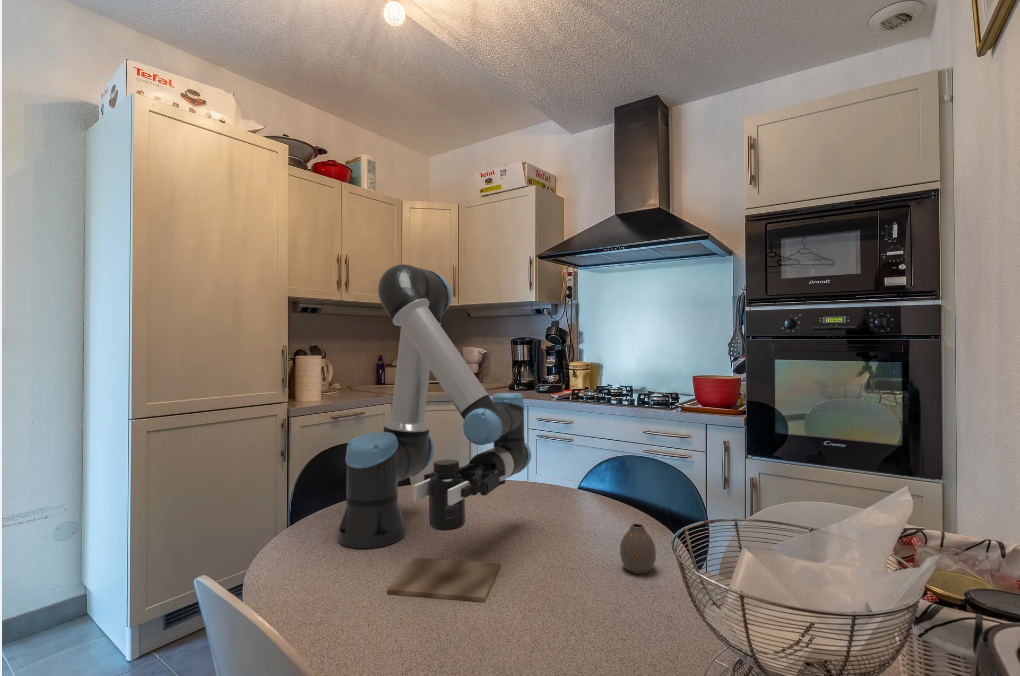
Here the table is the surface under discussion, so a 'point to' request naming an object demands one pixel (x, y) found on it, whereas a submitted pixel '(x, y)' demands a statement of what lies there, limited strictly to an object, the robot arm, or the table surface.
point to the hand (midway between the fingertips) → (432, 495)
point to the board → (446, 579)
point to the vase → (637, 550)
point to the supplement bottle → (445, 497)
